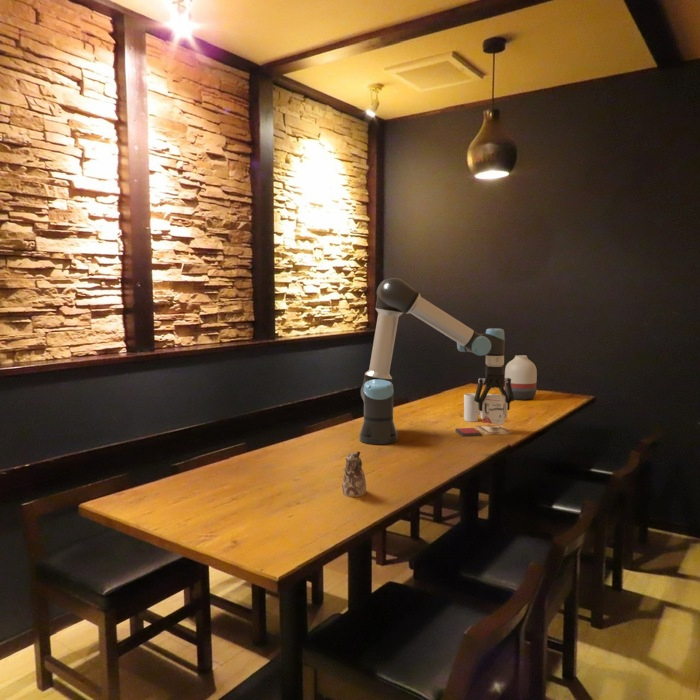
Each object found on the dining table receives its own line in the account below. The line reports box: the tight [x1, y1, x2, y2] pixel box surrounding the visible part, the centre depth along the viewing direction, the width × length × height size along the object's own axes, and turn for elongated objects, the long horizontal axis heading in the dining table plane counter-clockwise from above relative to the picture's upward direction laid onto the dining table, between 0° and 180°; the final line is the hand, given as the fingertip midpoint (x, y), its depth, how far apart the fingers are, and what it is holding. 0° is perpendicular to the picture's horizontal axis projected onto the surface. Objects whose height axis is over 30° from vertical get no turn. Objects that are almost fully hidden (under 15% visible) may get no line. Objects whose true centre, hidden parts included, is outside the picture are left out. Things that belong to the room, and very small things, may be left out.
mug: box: [463, 392, 481, 423], centre depth 273 cm, size 10×7×12 cm, turn 76°
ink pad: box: [454, 427, 483, 437], centre depth 248 cm, size 8×10×1 cm
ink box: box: [482, 393, 506, 426], centre depth 252 cm, size 9×5×12 cm, turn 62°
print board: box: [475, 424, 513, 436], centre depth 253 cm, size 11×13×1 cm
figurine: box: [341, 450, 367, 498], centre depth 174 cm, size 7×7×12 cm
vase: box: [504, 354, 538, 401], centre depth 329 cm, size 17×17×24 cm
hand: (493, 418), depth 252 cm, fingers closed on ink box, 9 cm apart
